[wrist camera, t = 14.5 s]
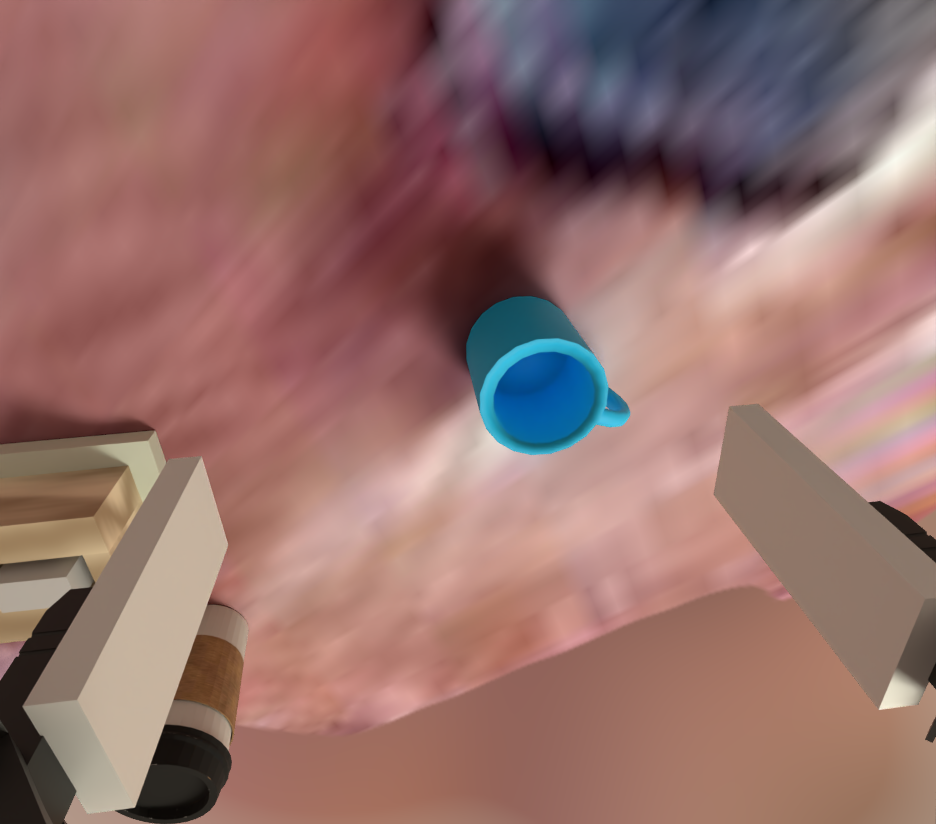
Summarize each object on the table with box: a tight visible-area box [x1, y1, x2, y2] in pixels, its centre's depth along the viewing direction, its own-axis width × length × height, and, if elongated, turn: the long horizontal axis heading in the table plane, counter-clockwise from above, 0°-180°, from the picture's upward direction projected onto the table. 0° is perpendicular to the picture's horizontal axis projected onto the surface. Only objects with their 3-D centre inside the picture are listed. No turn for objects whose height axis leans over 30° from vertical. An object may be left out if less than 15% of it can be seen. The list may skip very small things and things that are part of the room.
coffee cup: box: [115, 605, 248, 824], centre depth 49 cm, size 8×8×15 cm
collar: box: [0, 466, 143, 643], centre depth 44 cm, size 10×10×6 cm
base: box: [0, 430, 166, 613], centre depth 45 cm, size 14×14×8 cm
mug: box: [466, 296, 630, 455], centre depth 43 cm, size 12×8×8 cm
